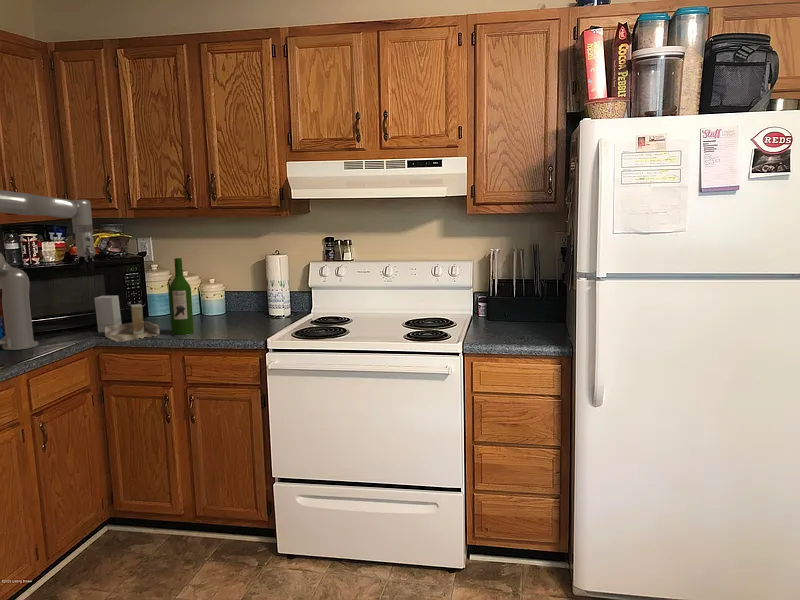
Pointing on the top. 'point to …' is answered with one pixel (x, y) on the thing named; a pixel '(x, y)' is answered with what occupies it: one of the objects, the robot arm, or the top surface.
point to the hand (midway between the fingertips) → (86, 270)
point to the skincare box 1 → (107, 311)
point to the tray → (130, 331)
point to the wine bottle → (180, 302)
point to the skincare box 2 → (137, 319)
